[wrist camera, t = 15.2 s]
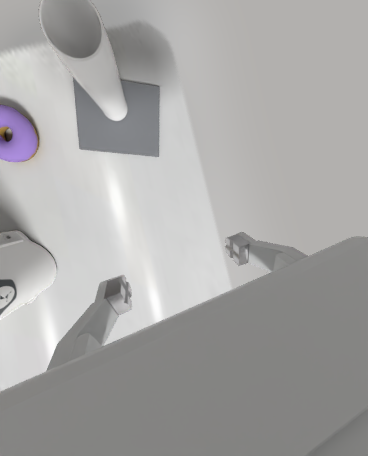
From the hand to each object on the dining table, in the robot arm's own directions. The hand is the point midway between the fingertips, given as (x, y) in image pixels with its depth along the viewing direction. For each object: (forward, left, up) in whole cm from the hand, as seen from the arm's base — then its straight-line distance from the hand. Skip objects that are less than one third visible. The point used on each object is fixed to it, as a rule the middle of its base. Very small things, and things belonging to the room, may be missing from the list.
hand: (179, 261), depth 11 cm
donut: (-31, +16, -28) cm, 45 cm away
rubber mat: (-11, +22, -27) cm, 36 cm away
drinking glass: (-12, +23, -27) cm, 37 cm away
